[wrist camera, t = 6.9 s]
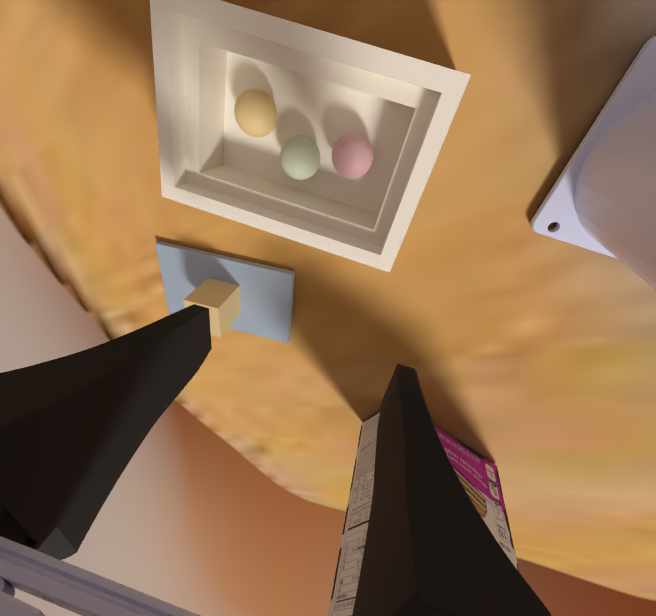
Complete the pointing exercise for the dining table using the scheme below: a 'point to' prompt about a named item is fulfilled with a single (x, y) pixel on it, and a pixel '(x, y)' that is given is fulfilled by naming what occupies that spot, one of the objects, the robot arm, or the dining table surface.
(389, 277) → the dining table surface
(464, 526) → the robot arm
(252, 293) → the lid
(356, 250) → the box
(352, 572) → the candy bar box
